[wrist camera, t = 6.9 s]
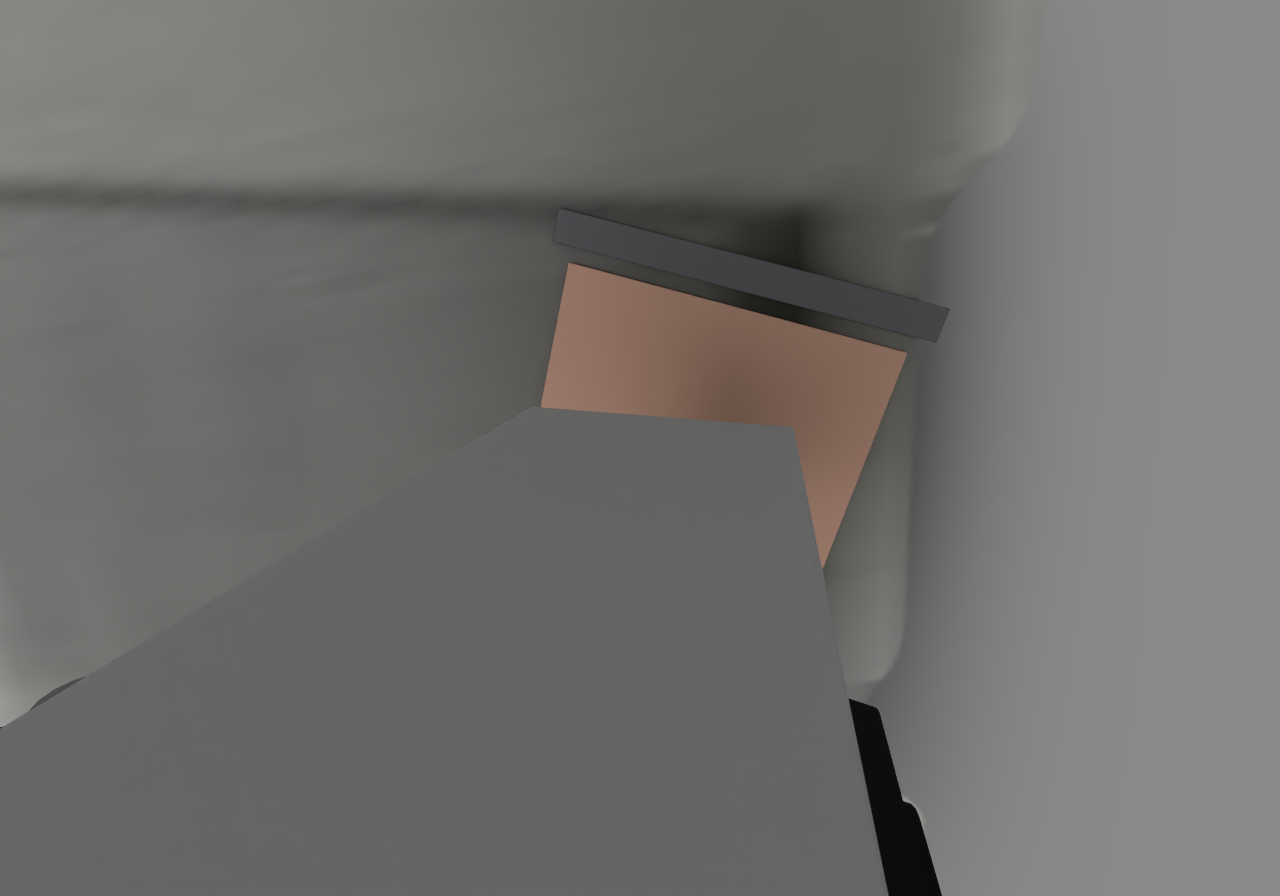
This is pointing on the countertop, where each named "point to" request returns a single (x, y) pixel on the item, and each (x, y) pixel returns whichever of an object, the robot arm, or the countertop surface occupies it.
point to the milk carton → (482, 695)
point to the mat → (723, 375)
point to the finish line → (751, 275)
